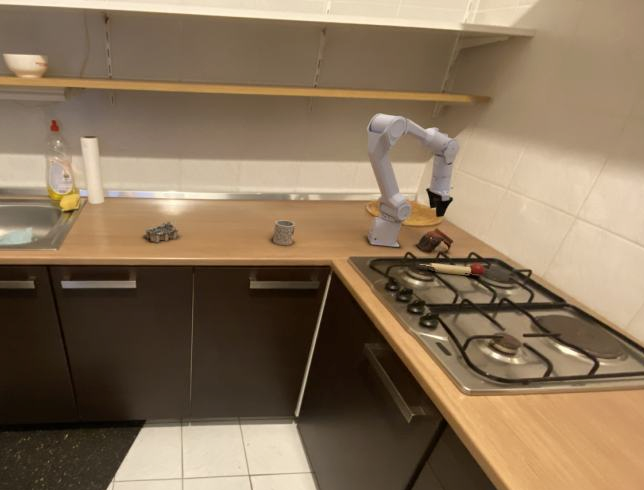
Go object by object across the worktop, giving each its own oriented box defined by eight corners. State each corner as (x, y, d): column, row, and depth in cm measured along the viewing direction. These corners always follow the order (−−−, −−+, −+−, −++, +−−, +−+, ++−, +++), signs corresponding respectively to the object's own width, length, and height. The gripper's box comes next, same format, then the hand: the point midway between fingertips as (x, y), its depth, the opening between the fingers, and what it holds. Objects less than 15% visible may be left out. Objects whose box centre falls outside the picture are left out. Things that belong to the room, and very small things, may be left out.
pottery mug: (415, 243, 140) (433, 225, 136) (436, 260, 137) (456, 242, 134) (414, 245, 130) (434, 225, 126) (437, 263, 127) (458, 244, 123)
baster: (419, 273, 117) (424, 261, 115) (416, 266, 120) (421, 255, 118) (482, 280, 115) (489, 268, 112) (477, 272, 118) (483, 261, 115)
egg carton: (170, 231, 139) (170, 220, 137) (180, 238, 134) (180, 227, 132) (143, 236, 134) (143, 224, 132) (152, 243, 129) (152, 231, 127)
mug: (294, 244, 133) (297, 226, 129) (276, 245, 132) (279, 226, 128) (284, 234, 141) (287, 216, 138) (267, 234, 140) (269, 217, 137)
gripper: (462, 180, 123) (456, 219, 130) (448, 166, 134) (442, 202, 142) (437, 183, 125) (433, 221, 132) (425, 169, 136) (421, 205, 144)
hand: (436, 211), depth 137 cm, fingers open, 7 cm apart
